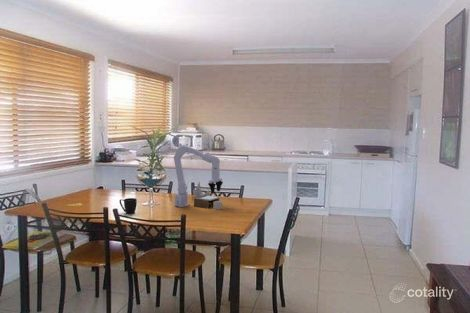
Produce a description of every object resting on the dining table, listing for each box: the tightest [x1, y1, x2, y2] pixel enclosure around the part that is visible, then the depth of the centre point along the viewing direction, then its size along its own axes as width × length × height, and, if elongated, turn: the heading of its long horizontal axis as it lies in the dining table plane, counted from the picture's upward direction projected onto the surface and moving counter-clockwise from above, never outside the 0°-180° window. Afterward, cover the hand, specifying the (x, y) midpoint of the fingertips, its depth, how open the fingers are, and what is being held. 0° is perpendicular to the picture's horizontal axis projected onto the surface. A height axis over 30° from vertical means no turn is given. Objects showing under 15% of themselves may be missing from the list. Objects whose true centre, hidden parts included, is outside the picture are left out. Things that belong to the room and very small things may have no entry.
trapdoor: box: [196, 194, 220, 201], centre depth 300 cm, size 12×12×2 cm
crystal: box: [192, 181, 210, 199], centre depth 319 cm, size 10×13×15 cm
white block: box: [212, 200, 223, 210], centre depth 290 cm, size 4×4×5 cm
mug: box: [118, 197, 138, 215], centre depth 272 cm, size 8×12×10 cm
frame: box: [193, 197, 220, 209], centre depth 300 cm, size 15×12×6 cm
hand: (215, 191), depth 300 cm, fingers open, 7 cm apart
